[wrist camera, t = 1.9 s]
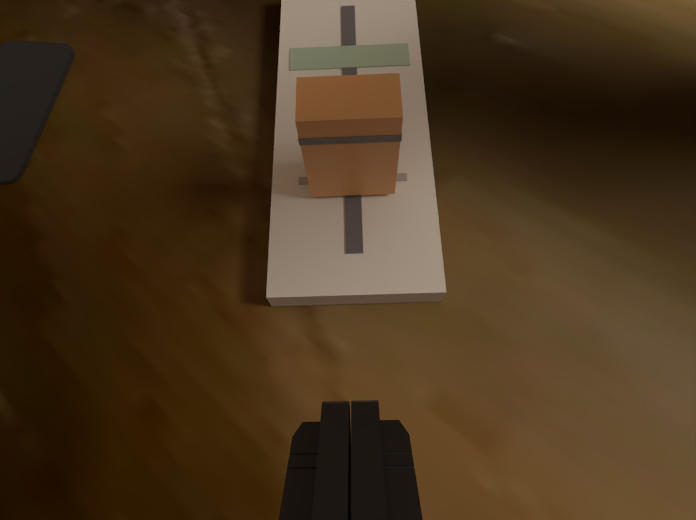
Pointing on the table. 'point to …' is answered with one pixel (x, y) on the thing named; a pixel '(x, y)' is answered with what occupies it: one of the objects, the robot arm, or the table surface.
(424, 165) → the white slider board
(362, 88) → the fader tab
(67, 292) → the table surface
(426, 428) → the table surface
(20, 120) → the phone
